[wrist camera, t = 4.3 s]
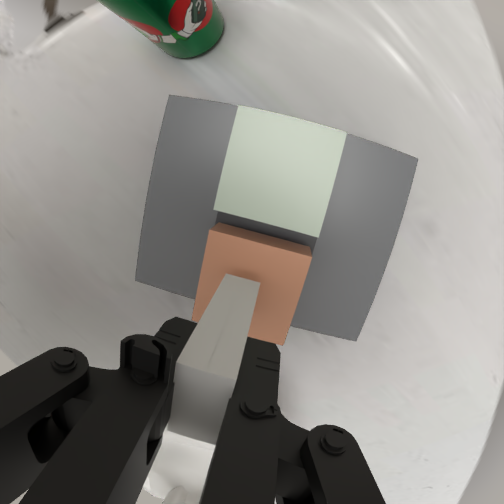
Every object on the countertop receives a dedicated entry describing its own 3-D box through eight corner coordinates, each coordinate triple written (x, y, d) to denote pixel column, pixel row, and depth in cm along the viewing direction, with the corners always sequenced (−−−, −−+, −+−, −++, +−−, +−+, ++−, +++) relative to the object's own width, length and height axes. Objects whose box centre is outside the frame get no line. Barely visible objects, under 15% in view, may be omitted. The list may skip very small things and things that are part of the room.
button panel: (157, 263, 24) (133, 281, 20) (189, 105, 21) (168, 94, 16) (347, 314, 23) (356, 342, 19) (396, 159, 20) (419, 158, 16)
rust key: (201, 304, 18) (191, 319, 16) (218, 222, 17) (209, 229, 15) (284, 327, 18) (283, 345, 16) (309, 246, 17) (312, 257, 15)
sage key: (222, 204, 17) (213, 209, 15) (244, 112, 15) (238, 104, 13) (315, 229, 16) (318, 237, 14) (340, 136, 15) (347, 132, 13)
